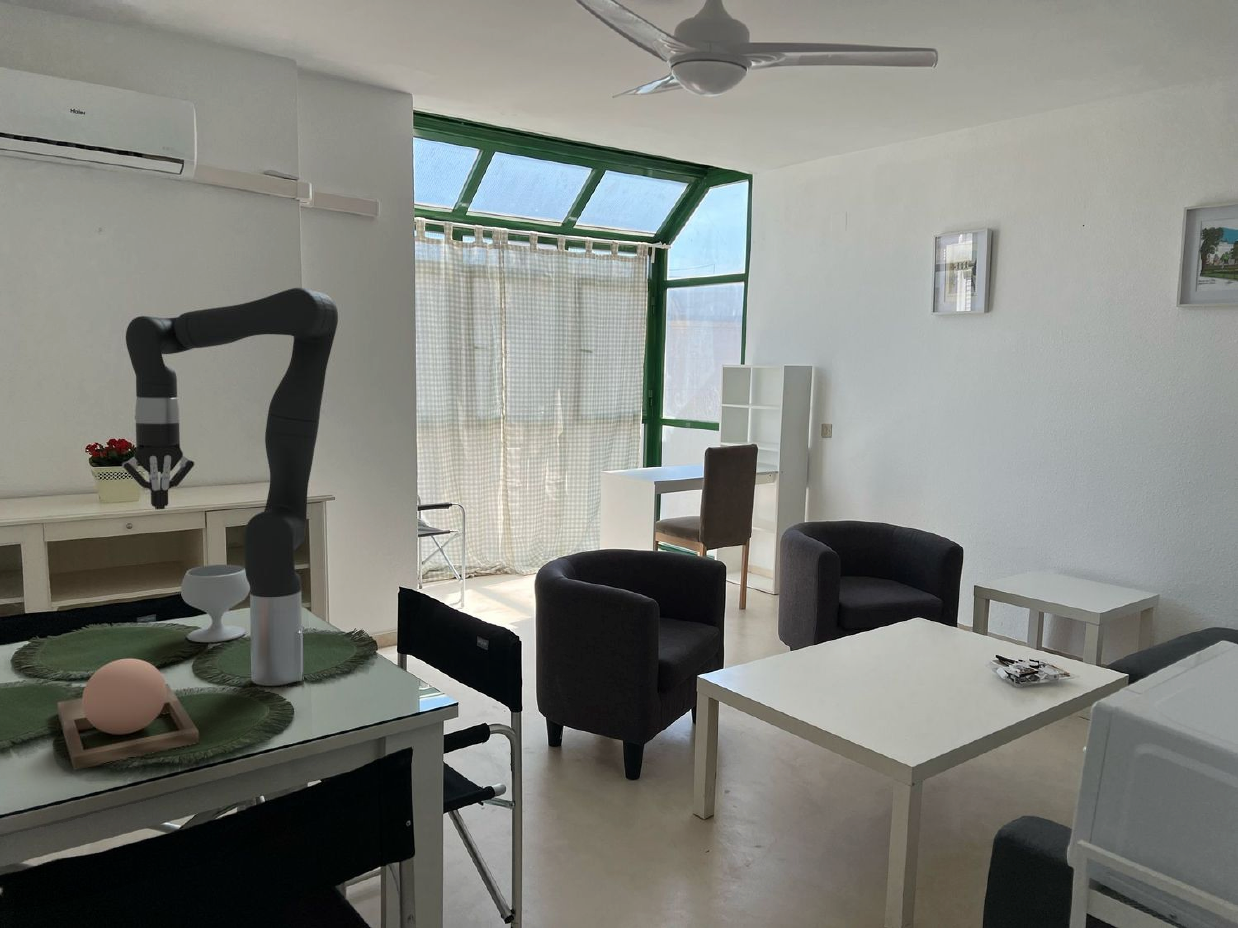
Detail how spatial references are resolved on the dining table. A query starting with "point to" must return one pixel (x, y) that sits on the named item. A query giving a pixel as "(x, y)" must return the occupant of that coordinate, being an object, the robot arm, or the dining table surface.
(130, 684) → the ball
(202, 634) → the chalice
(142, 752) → the wooden rectangular frame
